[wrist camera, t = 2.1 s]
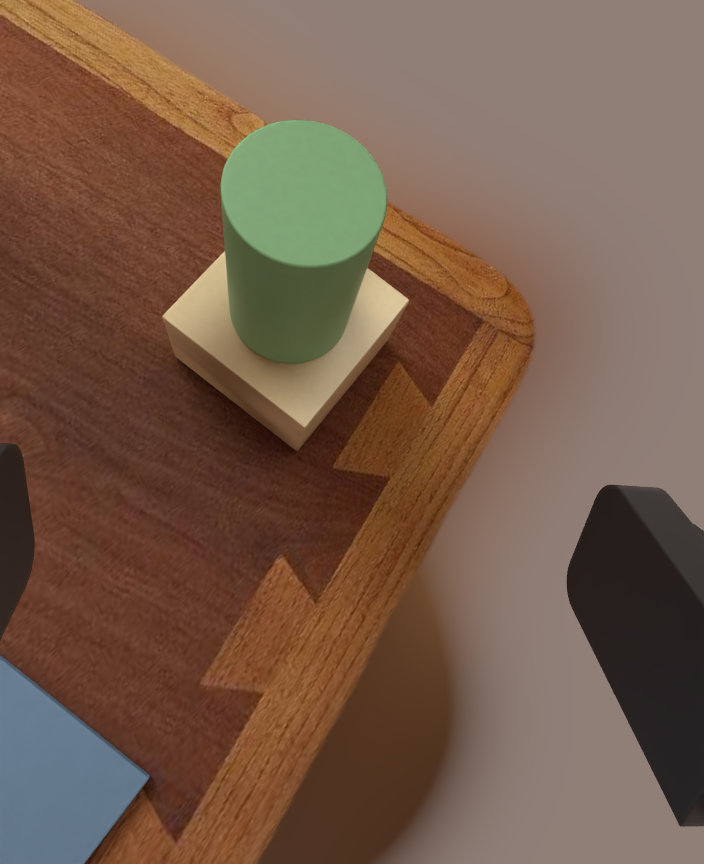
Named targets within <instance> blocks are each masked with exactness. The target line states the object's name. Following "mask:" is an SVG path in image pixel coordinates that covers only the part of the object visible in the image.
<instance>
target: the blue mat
mask: <svg viewBox="0 0 704 864" xmlns="http://www.w3.org/2000/svg"><path fill="white" fill-rule="evenodd" d="M149 778H150V775H149V774H148V773H146V772H145V771H144V770H143V769H142V768H140V767H139V766H138V765H137V764H135V763H134V762H133V761H132V760H130V759H129V758H128V757H127V756H125V755H124V754H123V753H122V752H120V751H119V750H118V749H117V748H115V747H114V746H113V745H112V744H111V743H109V742H108V741H107V740H106V739H104V738H103V737H102V736H101V735H99V734H98V733H97V732H96V731H94V730H93V729H92V728H91V727H89V726H88V725H87V724H86V723H84V722H83V721H82V720H81V719H79V718H78V717H77V716H76V715H75V714H73V713H72V712H71V711H70V710H68V709H67V708H66V707H65V706H63V705H62V704H61V703H60V702H58V701H57V700H56V699H55V698H53V697H52V696H51V695H50V694H48V693H47V692H46V691H45V690H44V689H42V688H41V687H40V686H39V685H37V684H36V683H35V682H34V681H32V680H31V679H30V678H29V677H27V676H26V675H25V674H24V673H22V672H21V671H20V670H19V669H17V668H16V667H15V666H14V665H12V664H11V663H10V662H9V661H8V660H6V659H5V658H4V657H3V656H1V655H0V864H85V863H86V861H87V860H88V859H89V857H90V856H91V855H92V853H93V852H94V851H95V849H96V848H97V847H98V845H99V844H100V843H101V841H102V840H103V839H104V837H105V836H106V835H107V834H108V832H109V831H110V830H111V828H112V827H113V826H114V824H115V823H116V822H117V820H118V819H119V818H120V816H121V815H122V814H123V812H124V811H125V810H126V808H127V807H128V806H129V804H130V803H131V802H132V801H133V799H134V798H135V797H136V795H137V794H138V793H139V791H140V790H141V789H142V787H143V786H144V785H145V783H146V782H147V781H148V779H149Z"/></svg>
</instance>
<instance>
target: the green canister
mask: <svg viewBox="0 0 704 864" xmlns="http://www.w3.org/2000/svg"><path fill="white" fill-rule="evenodd" d="M221 204H222V217H223V231H224V244H225V257H226V270H227V284H228V297H229V310H230V316H231V320H232V323H233V326H234V328H235V330H236V332H237V334H238V335H239V337H240V338H241V340H242V341H243V342H244V343H245V344H246V345H247V346H248V347H249V348H250V349H251V350H253V351H254V352H256V353H257V354H259V355H261V356H263V357H265V358H267V359H270V360H272V361H276V362H281V363H303V362H307V361H311V360H314V359H316V358H318V357H320V356H322V355H324V354H326V353H327V352H328V351H329V350H331V349H332V348H333V347H334V346H335V345H336V344H337V343H338V341H339V340H340V338H341V337H342V335H343V333H344V331H345V329H346V326H347V323H348V320H349V318H350V315H351V312H352V309H353V306H354V303H355V301H356V298H357V295H358V292H359V289H360V287H361V284H362V281H363V278H364V275H365V273H366V270H367V267H368V264H369V261H370V259H371V256H372V253H373V250H374V247H375V245H376V242H377V239H378V236H379V233H380V231H381V228H382V225H383V222H384V219H385V216H386V211H387V190H386V185H385V181H384V178H383V176H382V173H381V171H380V169H379V167H378V165H377V163H376V161H375V160H374V159H373V157H372V156H371V155H370V153H369V152H368V151H367V150H366V149H365V148H364V147H363V146H362V145H361V144H360V143H359V142H358V141H356V140H355V139H354V138H353V137H351V136H349V135H348V134H347V133H345V132H343V131H341V130H339V129H337V128H335V127H332V126H329V125H327V124H323V123H319V122H315V121H308V120H286V121H281V122H275V123H272V124H269V125H266V126H264V127H262V128H259V129H257V130H255V131H254V132H252V133H251V134H249V135H248V136H247V137H245V138H244V139H243V140H242V141H241V142H240V143H239V144H238V145H237V146H236V147H235V149H234V150H233V151H232V153H231V154H230V156H229V158H228V160H227V162H226V164H225V166H224V170H223V173H222V178H221Z"/></svg>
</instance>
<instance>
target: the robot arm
mask: <svg viewBox="0 0 704 864" xmlns="http://www.w3.org/2000/svg"><path fill="white" fill-rule="evenodd" d="M33 558H34V532H33V525H32V518H31V511H30V504H29V497H28V490H27V483H26V476H25V469H24V462H23V457H22V453H21V451H20V449H19V447H18V446H17V445H15V444H9V443H0V639H1V637H2V635H3V633H4V631H5V629H6V627H7V625H8V623H9V621H10V619H11V616H12V614H13V612H14V610H15V608H16V606H17V604H18V602H19V600H20V598H21V595H22V593H23V591H24V589H25V587H26V585H27V582H28V580H29V577H30V573H31V569H32V564H33ZM567 573H568V574H567V592H568V597H569V601H570V604H571V606H572V609H573V611H574V613H575V615H576V617H577V619H578V621H579V623H580V625H581V627H582V629H583V631H584V633H585V635H586V637H587V639H588V641H589V643H590V645H591V647H592V649H593V651H594V654H595V655H596V658H597V660H598V662H599V664H600V666H601V667H602V670H603V672H604V674H605V676H606V678H607V680H608V682H609V684H610V686H611V688H612V690H613V692H614V694H615V696H616V698H617V700H618V702H619V704H620V706H621V708H622V710H623V712H624V714H625V716H626V718H627V720H628V722H629V724H630V726H631V728H632V730H633V732H634V734H635V736H636V738H637V740H638V742H639V744H640V746H641V749H642V750H643V752H644V755H645V757H646V759H647V761H648V763H649V765H650V767H651V769H652V771H653V773H654V775H655V777H656V779H657V781H658V783H659V785H660V787H661V789H662V791H663V793H664V795H665V797H666V799H667V801H668V803H669V805H670V807H671V809H672V811H673V813H674V815H675V817H676V819H677V821H678V823H679V825H680V826H704V531H703V530H701V529H700V528H698V527H697V526H696V525H694V524H692V522H690V520H689V519H688V518H687V516H686V515H685V514H684V513H683V512H682V510H681V509H680V508H679V507H678V506H677V504H676V503H675V502H674V501H673V499H672V498H671V497H670V496H669V495H668V494H667V493H666V492H665V491H664V490H662V489H660V488H652V487H636V486H622V485H607V486H605V487H603V488H602V489H601V490H600V491H599V493H598V495H597V497H596V499H595V501H594V504H593V506H592V509H591V511H590V514H589V516H588V518H587V521H586V523H585V526H584V528H583V531H582V533H581V536H580V538H579V541H578V543H577V546H576V548H575V551H574V553H573V556H572V559H571V561H570V564H569V567H568V572H567Z"/></svg>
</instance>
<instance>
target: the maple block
mask: <svg viewBox="0 0 704 864" xmlns="http://www.w3.org/2000/svg"><path fill="white" fill-rule="evenodd" d="M408 302H409V300H408V299H407V298H406V297H405V296H403V295H402V294H401V293H399V292H398V291H397V290H395V289H394V288H393V287H391V286H390V285H389V284H388V283H386V282H385V281H384V280H382V279H381V278H380V277H378V276H377V275H376V274H375V273H373V272H372V271H371V270H369V269H368V268H367V270H366V273H365V275H364V278H363V281H362V284H361V287H360V289H359V292H358V295H357V298H356V301H355V303H354V306H353V309H352V312H351V315H350V318H349V320H348V323H347V326H346V329H345V331H344V333H343V335H342V337H341V338H340V340H339V341H338V343H337V344H336V345H335V346H334V347H333V348H332V349H331V350H329V351H328V352H327V353H326V354H324V355H322V356H320V357H318V358H316V359H314V360H311V361H307V362H303V363H281V362H276V361H272V360H270V359H267V358H265V357H263V356H261V355H259V354H257V353H256V352H254V351H253V350H251V349H250V348H249V347H248V346H247V345H246V344H245V343H244V342H243V341H242V340H241V338H240V337H239V335H238V334H237V332H236V330H235V328H234V326H233V323H232V320H231V316H230V310H229V297H228V284H227V270H226V257H225V251H224V253H223V254H222V255H221V256H220V257H219V258H218V259H217V260H216V261H215V262H214V263H213V264H212V265H211V266H210V267H209V268H208V269H207V270H206V271H205V272H204V273H203V274H202V275H201V276H200V277H199V279H198V280H197V281H196V282H195V283H194V284H193V285H192V286H191V287H190V288H189V289H188V290H187V291H186V292H185V293H184V294H183V295H182V296H181V297H180V298H179V299H178V300H177V301H176V302H175V304H174V305H173V306H172V307H171V308H170V309H169V310H168V311H167V312H166V313H165V314H164V315H163V316H162V318H163V321H164V324H165V327H166V330H167V333H168V337H169V340H170V343H171V346H172V349H173V352H174V355H175V357H176V358H178V359H179V360H180V361H182V362H183V363H184V364H185V365H187V366H188V367H189V368H191V369H192V370H193V371H194V372H196V373H197V374H198V375H200V376H201V377H202V378H203V379H205V380H206V381H207V382H208V383H210V384H211V385H212V386H214V387H215V388H216V389H217V390H219V391H220V392H221V393H223V394H224V395H225V396H226V397H228V398H229V399H230V400H232V401H233V402H234V403H235V404H237V405H238V406H239V407H241V408H242V409H243V410H244V411H246V412H247V413H248V414H249V415H251V416H252V417H253V418H255V419H256V420H257V421H258V422H260V423H261V424H262V425H264V426H265V427H266V428H267V429H269V430H270V431H271V432H273V433H274V434H275V435H276V436H278V437H279V438H280V439H282V440H283V441H284V442H285V443H287V444H288V445H289V446H290V447H292V448H293V449H294V450H296V451H298V450H299V449H300V448H301V446H302V445H303V444H304V443H305V442H306V440H307V439H308V438H309V437H310V435H311V434H312V433H313V432H314V430H315V429H316V428H317V427H318V426H319V424H320V423H321V422H322V421H323V419H324V418H325V417H326V416H327V414H328V413H329V412H330V411H331V410H332V408H333V407H334V406H335V405H336V403H337V402H338V401H339V400H340V398H341V397H342V396H343V395H344V394H345V392H346V391H347V390H348V389H349V387H350V386H351V385H352V384H353V382H354V381H355V380H356V379H357V378H358V376H359V375H360V374H361V373H362V371H363V370H364V369H365V368H366V366H367V365H368V364H369V363H370V362H371V360H372V359H373V358H374V357H375V355H376V354H377V353H378V352H379V350H380V349H381V348H382V347H383V346H384V344H385V343H386V342H387V341H388V339H389V337H390V335H391V334H392V332H393V330H394V328H395V326H396V324H397V322H398V321H399V319H400V317H401V315H402V313H403V311H404V309H405V308H406V306H407V304H408Z"/></svg>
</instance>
